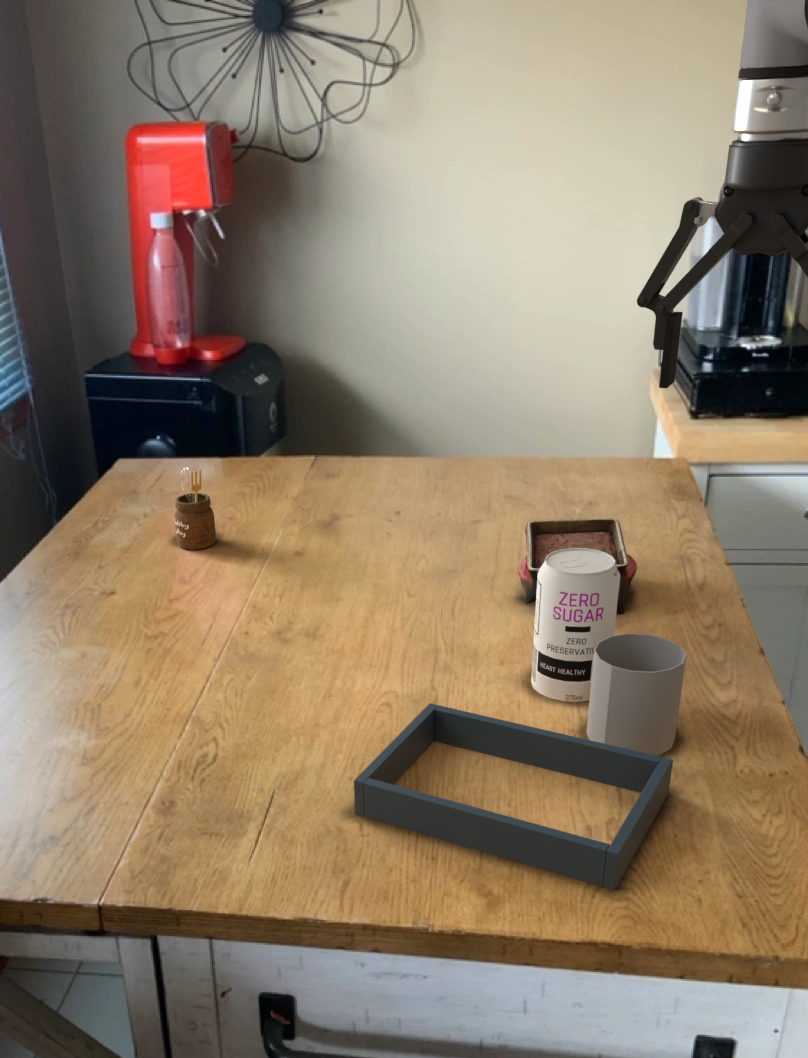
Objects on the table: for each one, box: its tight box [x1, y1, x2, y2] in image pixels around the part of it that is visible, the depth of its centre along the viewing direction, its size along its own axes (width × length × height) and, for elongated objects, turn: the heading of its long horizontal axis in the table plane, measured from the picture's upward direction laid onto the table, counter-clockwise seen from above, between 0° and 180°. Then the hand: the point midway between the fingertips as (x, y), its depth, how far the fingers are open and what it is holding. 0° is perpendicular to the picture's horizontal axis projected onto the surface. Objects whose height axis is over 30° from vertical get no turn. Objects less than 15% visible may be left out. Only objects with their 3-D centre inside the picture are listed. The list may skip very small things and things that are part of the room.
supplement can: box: [530, 548, 620, 703], centre depth 119 cm, size 8×8×15 cm
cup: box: [586, 632, 687, 756], centre depth 110 cm, size 8×8×10 cm
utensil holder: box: [173, 467, 217, 551], centre depth 165 cm, size 6×6×12 cm
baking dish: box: [517, 517, 638, 615], centre depth 143 cm, size 14×18×10 cm
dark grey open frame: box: [353, 702, 674, 891], centre depth 103 cm, size 24×16×4 cm, turn 58°
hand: (740, 390), depth 106 cm, fingers open, 13 cm apart
